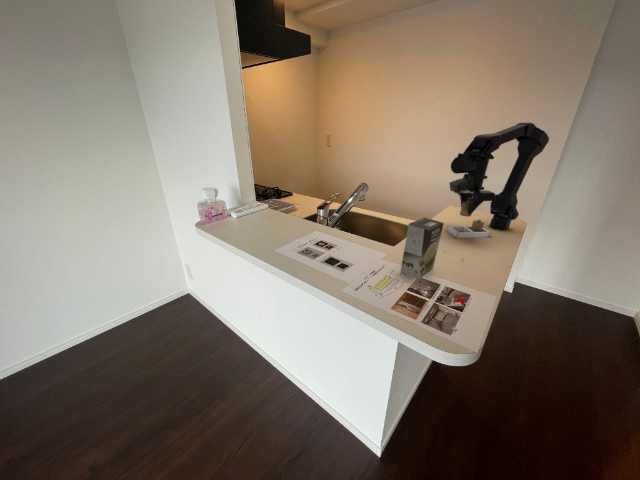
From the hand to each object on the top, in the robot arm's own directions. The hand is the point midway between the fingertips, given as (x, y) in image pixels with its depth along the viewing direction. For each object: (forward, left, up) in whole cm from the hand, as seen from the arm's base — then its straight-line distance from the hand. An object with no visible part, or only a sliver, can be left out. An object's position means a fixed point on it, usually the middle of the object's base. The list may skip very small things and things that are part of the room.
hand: (466, 212), depth 101 cm
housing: (-3, 0, -10) cm, 11 cm away
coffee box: (+29, +25, -11) cm, 40 cm away
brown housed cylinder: (-6, 0, -9) cm, 11 cm away
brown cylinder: (0, 0, -1) cm, 1 cm away
